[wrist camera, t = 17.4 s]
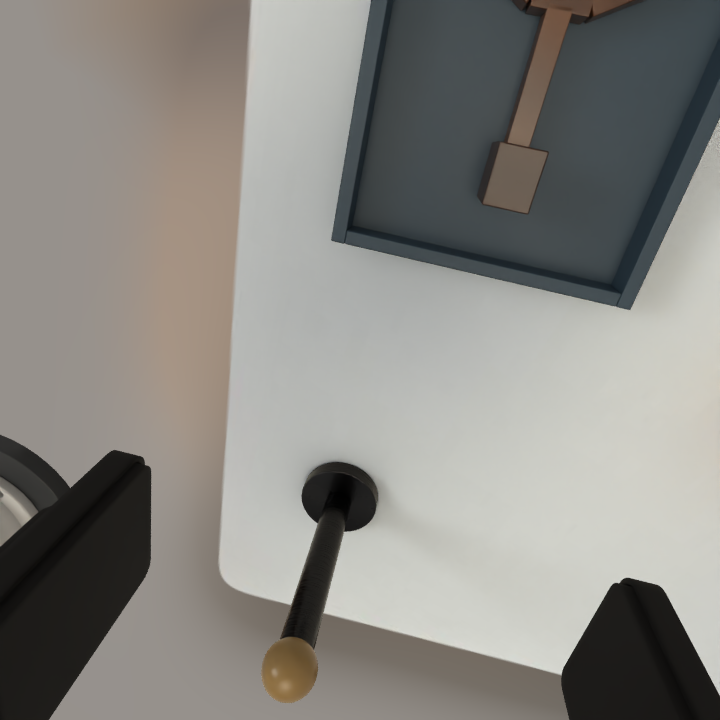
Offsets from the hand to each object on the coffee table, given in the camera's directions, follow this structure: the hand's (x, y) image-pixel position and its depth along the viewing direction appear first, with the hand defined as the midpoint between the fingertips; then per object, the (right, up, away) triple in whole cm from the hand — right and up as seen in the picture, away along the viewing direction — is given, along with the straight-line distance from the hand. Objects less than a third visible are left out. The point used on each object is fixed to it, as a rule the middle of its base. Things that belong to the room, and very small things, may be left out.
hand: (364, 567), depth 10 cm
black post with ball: (-2, -7, +29) cm, 30 cm away
